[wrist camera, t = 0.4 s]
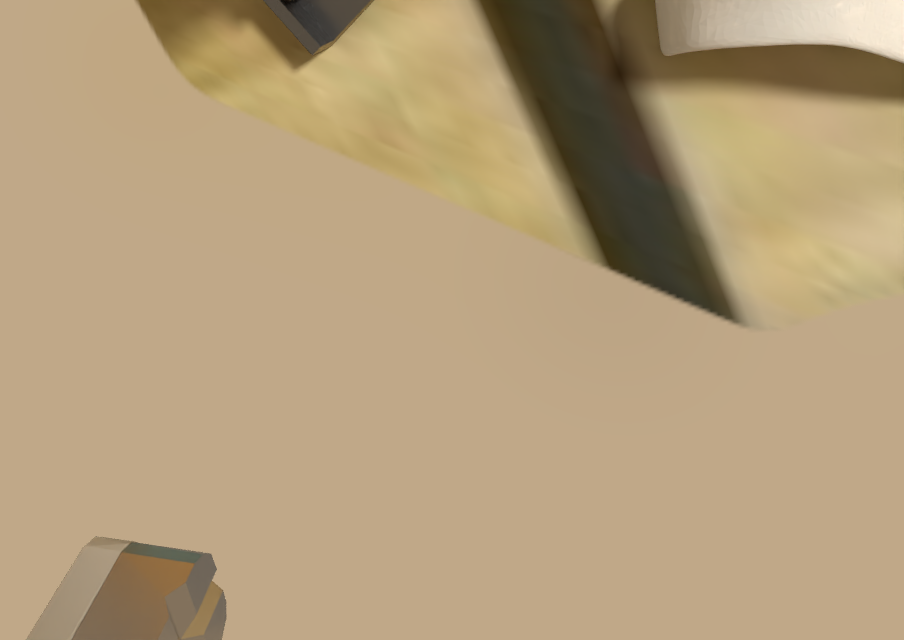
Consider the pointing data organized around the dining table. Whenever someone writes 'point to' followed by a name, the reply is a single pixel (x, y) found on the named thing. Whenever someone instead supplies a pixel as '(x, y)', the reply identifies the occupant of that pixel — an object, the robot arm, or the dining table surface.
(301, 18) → the rack
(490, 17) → the dining table surface
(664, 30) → the spoon rest
